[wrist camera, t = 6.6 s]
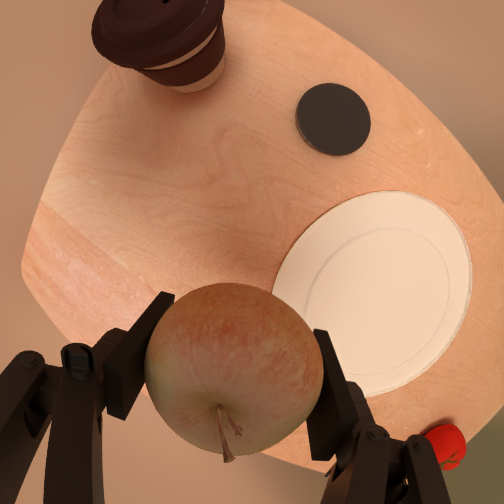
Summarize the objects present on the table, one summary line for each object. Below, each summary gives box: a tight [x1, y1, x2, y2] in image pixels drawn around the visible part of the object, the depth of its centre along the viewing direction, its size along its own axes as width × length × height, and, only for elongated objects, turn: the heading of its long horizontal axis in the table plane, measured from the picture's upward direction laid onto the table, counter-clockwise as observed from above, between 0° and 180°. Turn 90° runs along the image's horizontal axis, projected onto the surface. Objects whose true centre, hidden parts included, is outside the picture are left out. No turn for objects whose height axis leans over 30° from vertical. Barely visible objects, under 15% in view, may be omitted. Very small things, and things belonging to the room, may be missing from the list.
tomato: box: [424, 424, 466, 470], centre depth 35 cm, size 11×12×9 cm
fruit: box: [144, 283, 324, 463], centre depth 11 cm, size 8×7×8 cm
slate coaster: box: [296, 83, 371, 156], centre depth 27 cm, size 8×8×1 cm
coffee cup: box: [91, 0, 225, 93], centre depth 19 cm, size 10×10×15 cm
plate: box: [272, 191, 473, 398], centre depth 32 cm, size 28×28×1 cm
